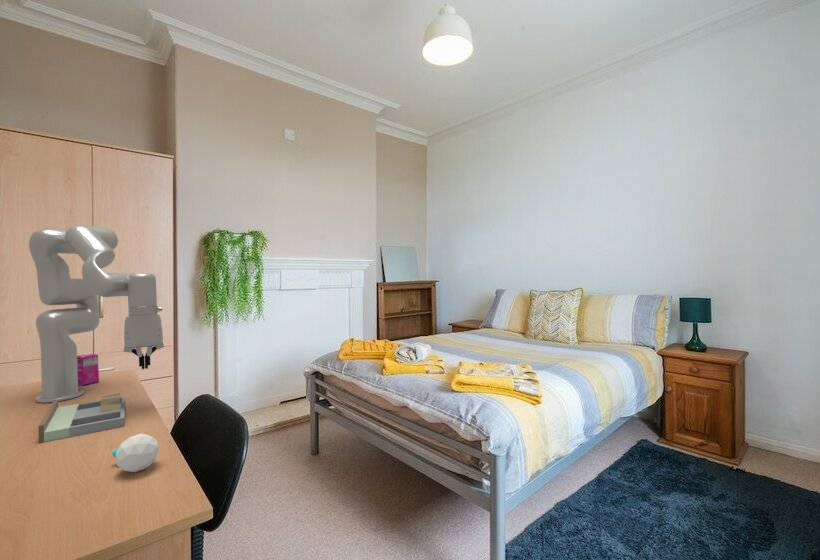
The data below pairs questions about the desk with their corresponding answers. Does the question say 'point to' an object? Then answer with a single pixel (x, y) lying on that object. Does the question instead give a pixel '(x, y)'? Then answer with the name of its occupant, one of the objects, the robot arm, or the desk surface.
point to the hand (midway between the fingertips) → (144, 368)
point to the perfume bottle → (136, 453)
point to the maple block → (110, 402)
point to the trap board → (79, 420)
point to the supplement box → (87, 369)
